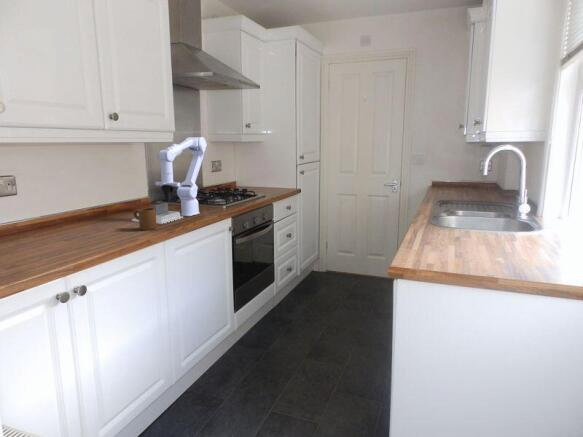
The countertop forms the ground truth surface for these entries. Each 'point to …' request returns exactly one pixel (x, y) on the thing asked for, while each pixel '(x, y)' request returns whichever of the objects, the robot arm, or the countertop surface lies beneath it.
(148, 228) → the mug
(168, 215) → the rack
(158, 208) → the panel
